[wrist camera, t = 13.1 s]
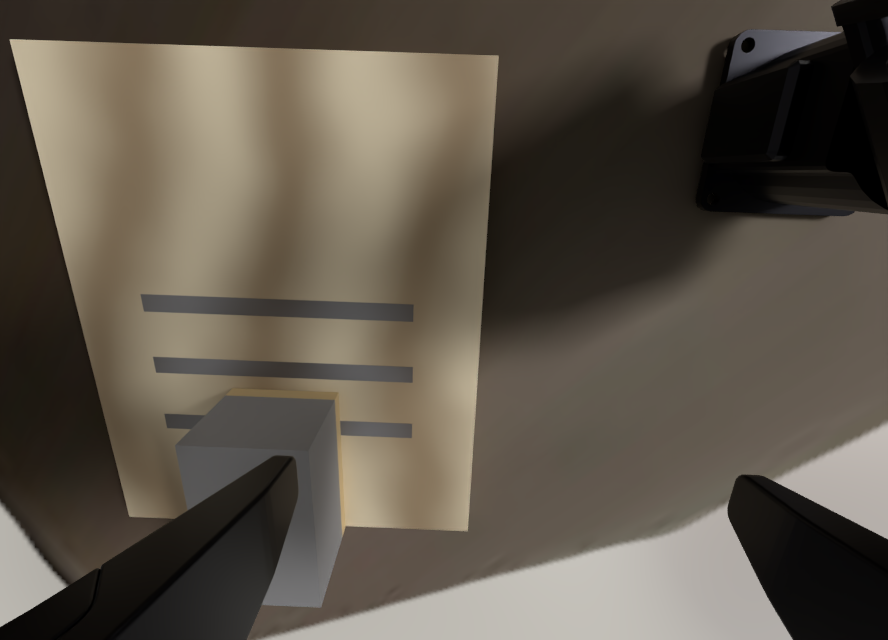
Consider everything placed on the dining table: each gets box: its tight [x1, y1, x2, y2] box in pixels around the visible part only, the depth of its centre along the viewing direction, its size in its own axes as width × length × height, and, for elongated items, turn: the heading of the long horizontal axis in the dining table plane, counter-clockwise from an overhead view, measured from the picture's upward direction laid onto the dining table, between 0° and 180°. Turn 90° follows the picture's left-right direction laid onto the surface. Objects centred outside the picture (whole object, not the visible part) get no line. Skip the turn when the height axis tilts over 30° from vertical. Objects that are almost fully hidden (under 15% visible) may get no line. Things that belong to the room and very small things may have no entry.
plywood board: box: [10, 39, 499, 531], centre depth 20 cm, size 18×22×1 cm
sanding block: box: [175, 388, 345, 607], centre depth 20 cm, size 5×8×4 cm, turn 178°
